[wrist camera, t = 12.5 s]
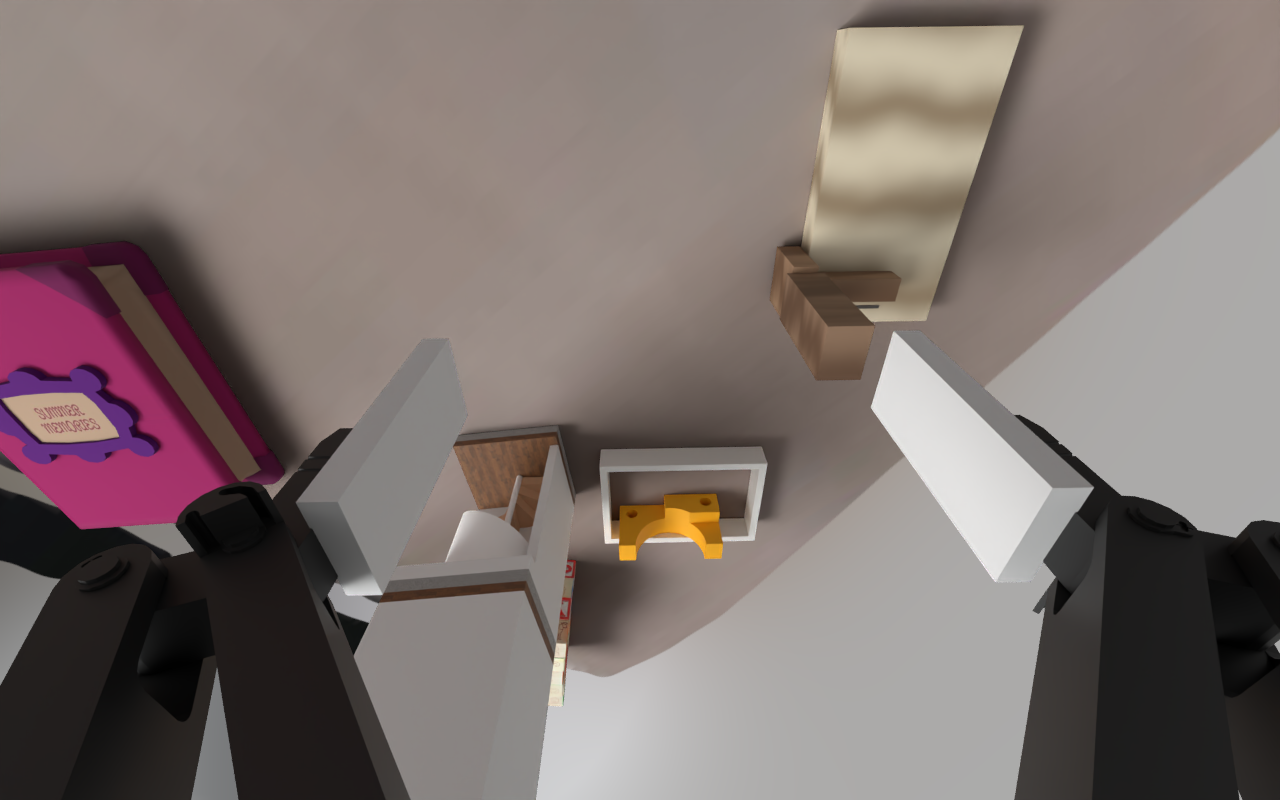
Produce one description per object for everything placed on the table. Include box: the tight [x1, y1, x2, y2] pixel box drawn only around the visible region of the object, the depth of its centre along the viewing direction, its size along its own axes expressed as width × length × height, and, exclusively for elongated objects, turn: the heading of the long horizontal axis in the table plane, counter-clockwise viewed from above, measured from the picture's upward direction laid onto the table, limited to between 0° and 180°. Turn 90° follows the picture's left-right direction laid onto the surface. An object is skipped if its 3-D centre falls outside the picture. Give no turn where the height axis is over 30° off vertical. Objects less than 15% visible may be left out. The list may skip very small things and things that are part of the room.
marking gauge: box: [770, 246, 902, 380], centre depth 39 cm, size 5×10×16 cm, turn 91°
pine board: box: [801, 26, 1024, 322], centre depth 41 cm, size 22×12×3 cm, turn 1°
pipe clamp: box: [619, 494, 723, 560], centre depth 60 cm, size 12×4×6 cm, turn 91°
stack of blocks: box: [548, 560, 576, 706], centre depth 69 cm, size 21×6×12 cm, turn 173°
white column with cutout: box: [354, 425, 576, 800], centre depth 44 cm, size 11×11×35 cm
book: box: [0, 241, 284, 529], centre depth 49 cm, size 21×28×8 cm
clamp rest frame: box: [600, 446, 768, 544], centre depth 60 cm, size 13×19×3 cm
